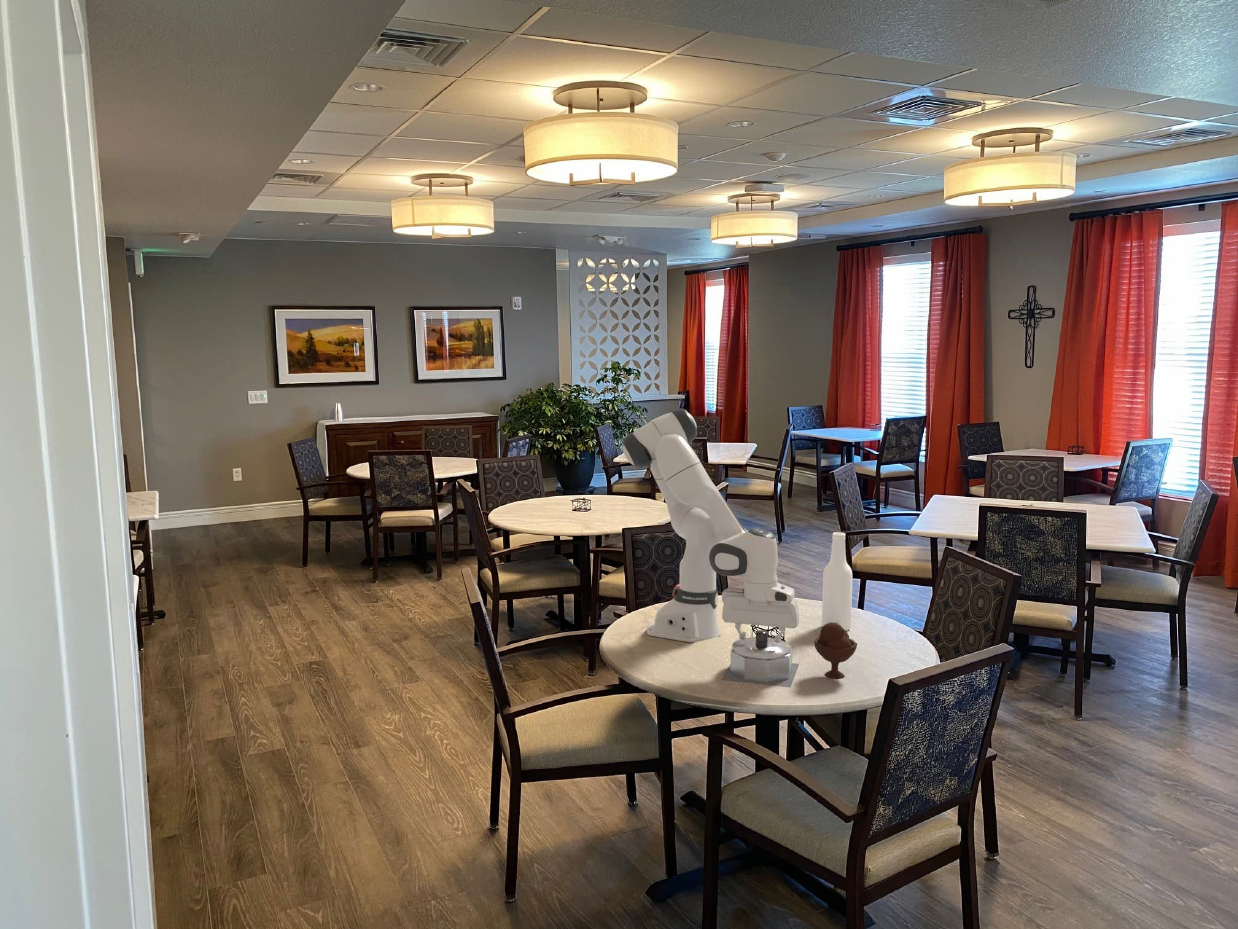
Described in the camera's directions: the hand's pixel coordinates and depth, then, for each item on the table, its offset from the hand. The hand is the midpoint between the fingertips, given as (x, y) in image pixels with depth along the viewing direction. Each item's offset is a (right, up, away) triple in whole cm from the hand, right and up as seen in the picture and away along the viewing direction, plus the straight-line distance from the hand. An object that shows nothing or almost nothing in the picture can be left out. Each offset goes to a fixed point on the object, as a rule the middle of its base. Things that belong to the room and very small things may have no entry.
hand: (759, 640), depth 242 cm
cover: (+1, -9, +1) cm, 9 cm away
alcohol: (+30, -4, +40) cm, 50 cm away
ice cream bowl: (+20, -10, -2) cm, 22 cm away
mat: (+1, -9, +1) cm, 9 cm away
